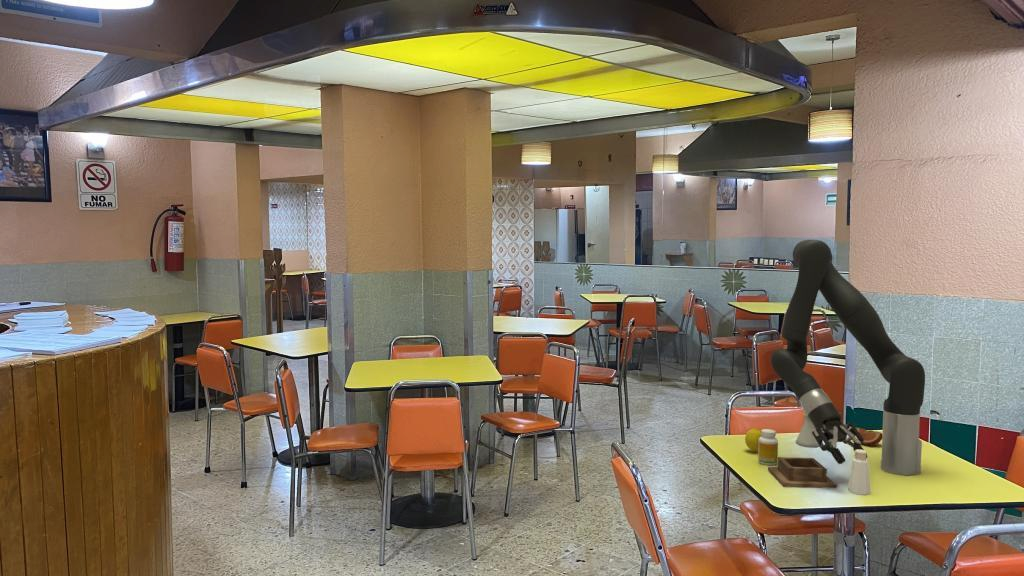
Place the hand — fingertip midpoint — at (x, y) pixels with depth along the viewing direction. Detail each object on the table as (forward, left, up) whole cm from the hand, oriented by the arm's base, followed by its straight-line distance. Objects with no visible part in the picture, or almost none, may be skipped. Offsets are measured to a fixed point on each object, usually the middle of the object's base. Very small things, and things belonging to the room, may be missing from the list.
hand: (853, 460), depth 188 cm
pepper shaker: (-1, +2, -8) cm, 8 cm away
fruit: (+17, -32, -8) cm, 37 cm away
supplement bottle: (+16, -21, -8) cm, 28 cm away
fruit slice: (-23, -44, -8) cm, 51 cm away
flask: (-3, -42, -8) cm, 43 cm away
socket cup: (+11, -7, -8) cm, 15 cm away
